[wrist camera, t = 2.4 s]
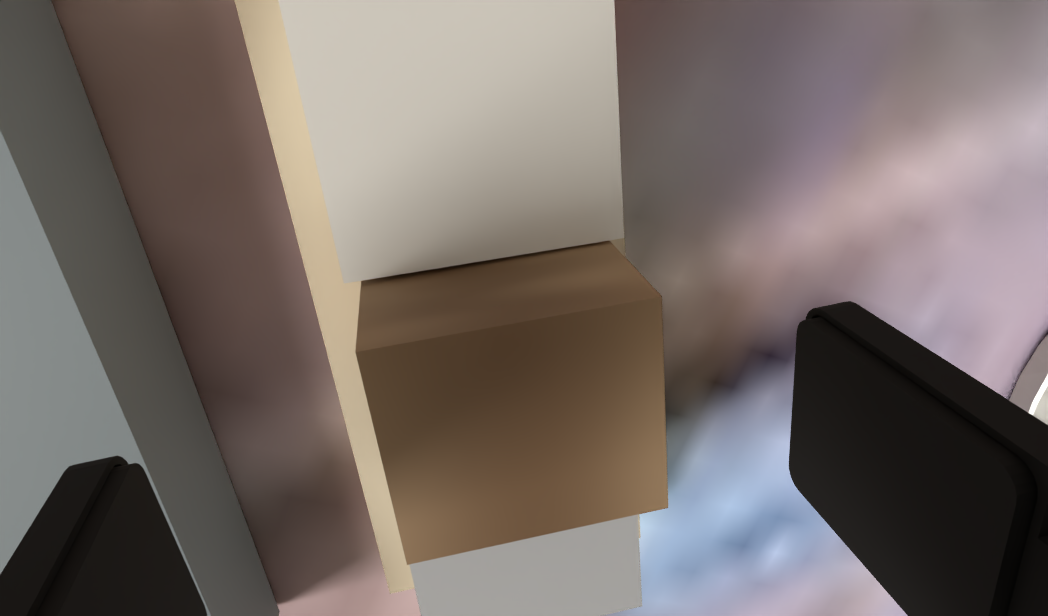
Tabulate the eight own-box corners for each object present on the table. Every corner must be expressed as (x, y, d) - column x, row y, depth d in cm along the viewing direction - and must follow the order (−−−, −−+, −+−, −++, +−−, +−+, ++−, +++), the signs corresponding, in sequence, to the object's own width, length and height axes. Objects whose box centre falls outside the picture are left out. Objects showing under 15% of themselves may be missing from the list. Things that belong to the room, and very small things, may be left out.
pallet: (575, -202, 16) (803, -442, 7) (621, 497, 24) (751, 771, 16) (208, -169, 15) (-33, -399, 6) (389, 547, 23) (392, 868, 15)
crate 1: (542, -57, 15) (611, -77, 10) (560, 173, 17) (624, 238, 13) (304, -31, 14) (268, -42, 10) (354, 203, 16) (344, 283, 12)
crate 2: (574, 326, 19) (633, 429, 14) (586, 476, 21) (641, 606, 16) (388, 359, 18) (388, 477, 14) (420, 509, 20) (430, 655, 16)
